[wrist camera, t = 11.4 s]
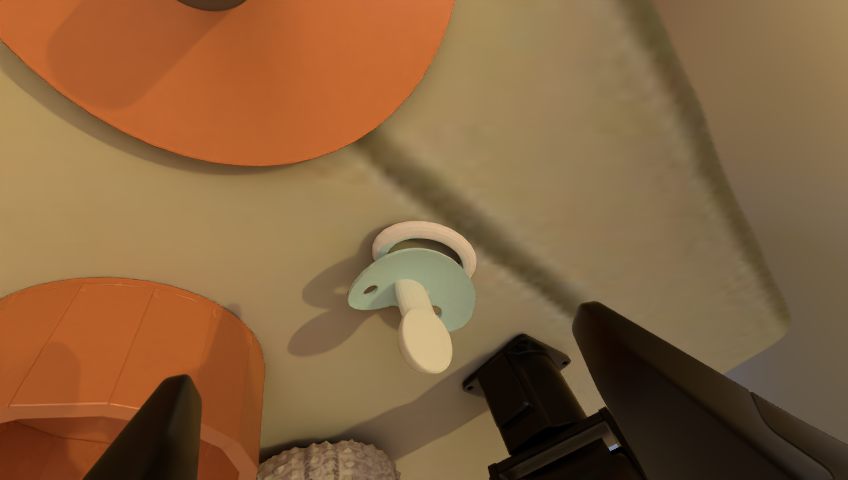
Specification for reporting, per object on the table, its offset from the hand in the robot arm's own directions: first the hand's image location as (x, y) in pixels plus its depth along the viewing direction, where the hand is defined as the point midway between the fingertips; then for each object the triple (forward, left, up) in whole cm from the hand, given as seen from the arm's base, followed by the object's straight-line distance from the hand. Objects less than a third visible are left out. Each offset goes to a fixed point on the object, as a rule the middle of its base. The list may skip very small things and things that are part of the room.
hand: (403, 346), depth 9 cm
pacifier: (-7, +3, -11) cm, 13 cm away
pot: (+2, +17, -11) cm, 21 cm away
